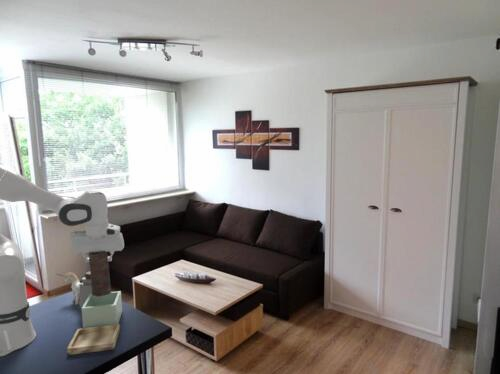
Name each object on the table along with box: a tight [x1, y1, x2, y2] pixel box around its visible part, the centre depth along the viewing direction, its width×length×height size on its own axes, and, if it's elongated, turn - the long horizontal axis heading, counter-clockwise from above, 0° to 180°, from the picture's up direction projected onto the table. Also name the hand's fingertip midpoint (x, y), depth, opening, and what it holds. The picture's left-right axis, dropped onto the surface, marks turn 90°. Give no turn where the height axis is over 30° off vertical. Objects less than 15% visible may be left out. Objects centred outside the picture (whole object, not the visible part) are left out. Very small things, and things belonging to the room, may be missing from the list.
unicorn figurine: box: [56, 272, 82, 306], centre depth 161 cm, size 7×20×13 cm, turn 61°
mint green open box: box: [81, 290, 123, 328], centre depth 144 cm, size 13×13×10 cm
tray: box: [66, 323, 121, 356], centre depth 130 cm, size 16×13×2 cm
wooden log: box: [88, 251, 112, 297], centre depth 141 cm, size 8×7×20 cm
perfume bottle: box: [79, 270, 92, 310], centre depth 153 cm, size 7×7×18 cm
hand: (99, 261), depth 140 cm, fingers closed on wooden log, 7 cm apart
